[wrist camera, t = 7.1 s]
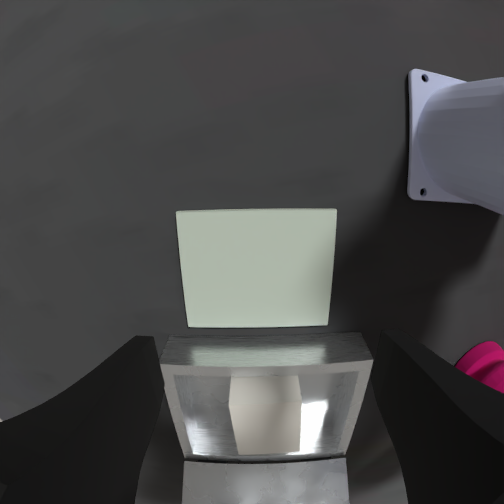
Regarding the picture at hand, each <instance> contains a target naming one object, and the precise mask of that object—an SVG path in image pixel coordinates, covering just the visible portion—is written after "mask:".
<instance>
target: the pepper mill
mask: <svg viewBox="0 0 504 504" xmlns="http://www.w3.org/2000/svg"><path fill="white" fill-rule="evenodd" d="M455 367H456V368H457V369H459V370H461V371H462V372H464V373H466V374H467V375H469V376H470V377H472V378H474V379H476V380H478V381H479V382H481V383H483V384H485V385H487V386H489V387H491V388H493V389H495V390H497V391H500V392H502V393H504V350H503V349H502V348H501V347H500V346H499V345H498V344H497V343H496V342H493V341H487V342H484V343H481V344H478V345H477V346H475V347H473V348H472V349H471V350H469V351H468V352H467V353H466V354H465V355H464V356H463V357H462V358H461V359H460V360H459V361H458V363H457V364H456V365H455Z"/></svg>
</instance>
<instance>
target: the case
mask: <svg viewBox="0 0 504 504" xmlns="http://www.w3.org/2000/svg"><path fill="white" fill-rule="evenodd" d="M373 360H374V359H373V357H372V355H371V353H370V351H369V349H368V347H367V345H366V343H365V341H364V339H363V337H362V335H361V333H360V331H357V332H342V333H326V334H305V335H276V336H194V335H169V338H168V340H167V343H166V345H165V348H164V350H163V353H162V356H161V358H160V361H159V363H160V367H161V371H162V375H163V378H164V382H165V386H164V389H165V393H166V397H167V400H168V404H169V408H170V411H171V415H172V418H173V422H174V425H175V428H176V432H177V435H178V438H179V442H180V445H181V448H182V451H183V454H184V457H185V458H188V459H199V460H198V462H203V463H222V464H228V461H281V460H299V459H301V462H310V461H321V460H330V459H331V456H340V455H345V454H346V451H347V448H348V445H349V442H350V439H351V436H352V433H353V430H354V427H355V424H356V421H357V418H358V414H359V411H360V408H361V404H362V401H363V398H364V394H365V391H366V387H367V383H368V379H369V376H370V372H371V368H372V364H373ZM294 375H298V380H299V386H300V392H301V398H302V413H301V439H300V451H298V452H287V453H273V454H253V455H239V454H238V449H237V444H236V440H235V435H234V430H233V425H232V420H231V415H230V410H229V394H230V383H231V377H262V376H294Z"/></svg>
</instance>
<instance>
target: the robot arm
mask: <svg viewBox="0 0 504 504" xmlns="http://www.w3.org/2000/svg"><path fill="white" fill-rule="evenodd" d="M422 75H423V76H424V77H425V79H426V81H425V82H423V80H422V78H421V76H422ZM408 81H409V111H410V138H409V169H408V186H407V194H408V196H409V197H410V198H411V199H414V200H425V201H442V202H457V203H470V204H477V205H480V206H482V207H485V208H487V209H489V210H492V211H494V212H497V213H499V214H501V215H503V216H504V77H500V78H493V79H486V80H479V81H473V82H465V81H462V80H458V79H455V78H451V77H448V76H444V75H440V74H436V73H432V72H428V71H423V70H419V69H413V70H411V71H410V72H409V74H408ZM422 188H423V189H424V194H423V195H420V190H421V189H422ZM371 381H372V385H373V389H374V393H375V397H376V401H377V404H378V407H379V409H380V412H381V414H382V417H383V419H384V422H385V425H386V427H387V430H388V432H389V435H390V437H391V440H392V442H393V445H394V447H395V450H396V453H397V455H398V458H399V462H400V465H401V469H402V473H403V478H404V482H405V487H406V492H407V498H408V504H504V393H502V392H500V391H497V390H495V389H493V388H491V387H489V386H487V385H485V384H483V383H481V382H479V381H478V380H476V379H474V378H472V377H470V376H469V375H467V374H466V373H464V372H462V371H461V370H459V369H457V368H456V367H454V366H453V365H451V364H450V363H448V362H447V361H445V360H444V359H442V358H441V357H439V356H438V355H436V354H435V353H434V352H432V351H431V350H429V349H428V348H427V347H425V346H424V345H422V344H421V343H419V342H418V341H417V340H415V339H414V338H412V337H411V336H409V335H408V334H406V333H405V332H403V331H402V330H400V329H390V330H382V331H381V336H380V341H379V345H378V350H377V354H376V359H375V363H374V367H373V371H372V375H371ZM164 386H165V382H164V378H163V375H162V371H161V367H160V363H159V359H158V354H157V350H156V346H155V341H154V337H153V336H135V337H133V338H132V339H131V340H129V341H128V342H127V343H126V344H124V345H123V346H122V347H121V348H119V349H118V350H117V351H116V352H115V353H113V354H112V355H111V356H110V357H108V358H107V359H106V360H105V361H104V362H102V363H101V364H100V365H99V366H97V367H96V368H95V369H94V370H92V371H91V372H90V373H88V374H87V375H86V376H84V377H83V378H81V379H80V380H79V381H77V382H76V383H75V384H73V385H72V386H70V387H69V388H68V389H66V390H65V391H63V392H61V393H60V394H58V395H57V396H55V397H53V398H51V399H50V400H48V401H46V402H45V403H43V404H41V405H39V406H37V407H35V408H33V409H31V410H28V411H26V412H24V413H22V414H20V415H18V416H16V417H13V418H11V419H8V420H5V421H3V422H0V504H134V503H135V496H136V490H137V485H138V479H139V474H140V470H141V466H142V462H143V459H144V456H145V453H146V450H147V447H148V444H149V441H150V438H151V435H152V432H153V429H154V426H155V423H156V420H157V417H158V414H159V411H160V407H161V402H162V397H163V391H164Z"/></svg>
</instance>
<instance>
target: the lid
mask: <svg viewBox="0 0 504 504" xmlns="http://www.w3.org/2000/svg"><path fill="white" fill-rule="evenodd" d="M182 504H349V493H348V479H347V467H346V458H338V459H330V460H321V461H310V462H297V463H278V464H222V463H203V462H190V461H184V475H183V494H182Z"/></svg>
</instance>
